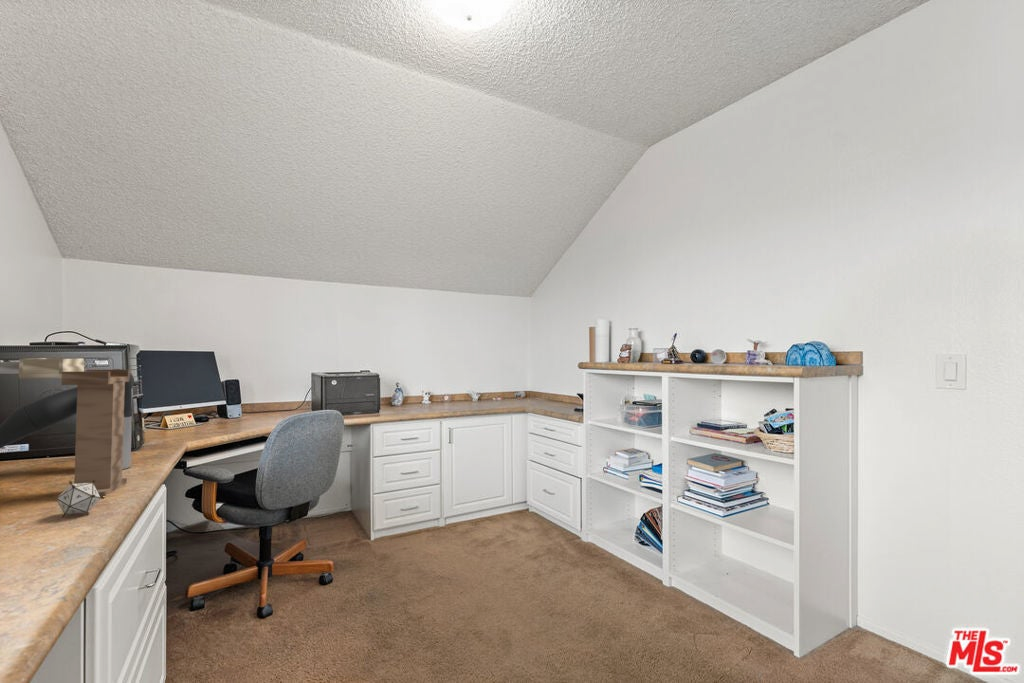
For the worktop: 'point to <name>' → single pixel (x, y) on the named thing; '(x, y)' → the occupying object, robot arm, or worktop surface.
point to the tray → (42, 367)
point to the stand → (99, 427)
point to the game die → (78, 498)
